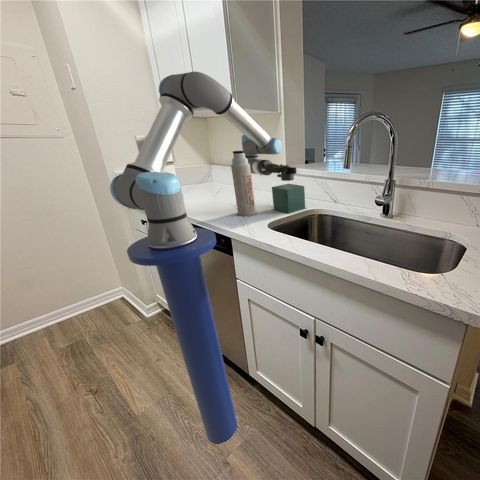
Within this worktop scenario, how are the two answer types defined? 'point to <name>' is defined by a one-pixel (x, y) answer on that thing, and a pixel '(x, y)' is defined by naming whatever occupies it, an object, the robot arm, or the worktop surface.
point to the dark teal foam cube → (288, 198)
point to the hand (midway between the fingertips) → (295, 170)
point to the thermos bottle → (242, 184)
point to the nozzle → (286, 176)
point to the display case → (169, 165)
